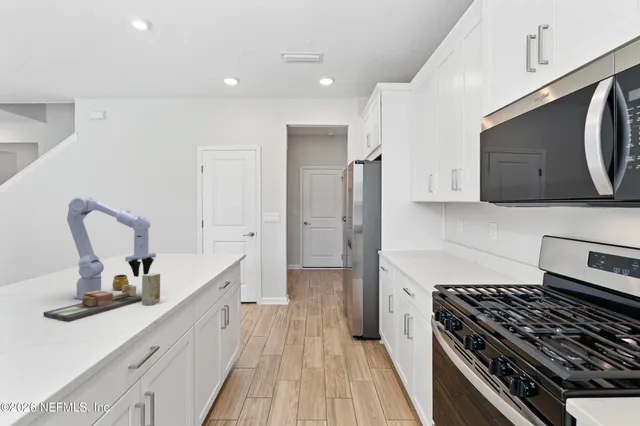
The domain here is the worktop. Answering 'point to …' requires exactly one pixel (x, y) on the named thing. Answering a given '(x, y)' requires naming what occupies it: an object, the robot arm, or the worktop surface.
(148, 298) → the skincare box
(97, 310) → the plate
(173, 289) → the worktop surface
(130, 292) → the tan wooden brick
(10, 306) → the worktop surface
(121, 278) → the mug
